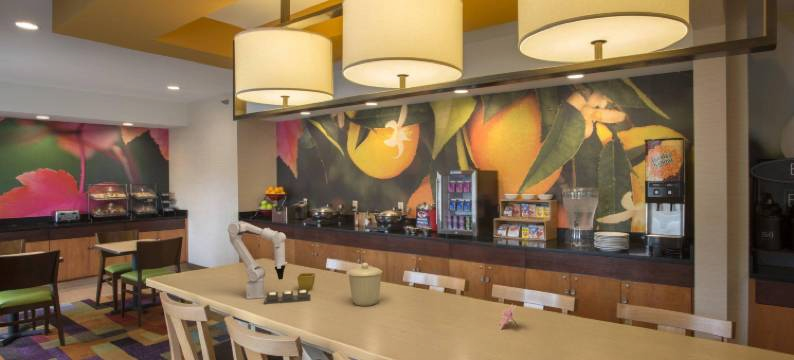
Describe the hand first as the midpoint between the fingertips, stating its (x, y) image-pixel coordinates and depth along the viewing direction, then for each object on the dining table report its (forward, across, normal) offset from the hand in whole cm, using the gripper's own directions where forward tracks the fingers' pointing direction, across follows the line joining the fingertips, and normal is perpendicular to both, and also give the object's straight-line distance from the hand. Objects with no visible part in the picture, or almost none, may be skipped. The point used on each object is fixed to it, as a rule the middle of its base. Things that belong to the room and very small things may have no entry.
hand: (280, 279), depth 252 cm
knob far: (+9, -7, -12) cm, 17 cm away
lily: (+12, -75, -100) cm, 126 cm away
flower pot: (+10, +13, -14) cm, 21 cm away
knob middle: (+9, -7, -4) cm, 12 cm away
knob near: (+9, -7, +4) cm, 12 cm away
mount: (+10, -7, -4) cm, 13 cm away
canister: (+11, -24, -44) cm, 52 cm away
